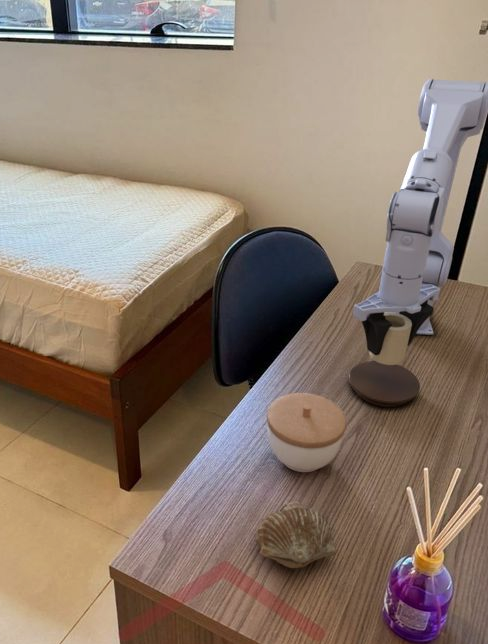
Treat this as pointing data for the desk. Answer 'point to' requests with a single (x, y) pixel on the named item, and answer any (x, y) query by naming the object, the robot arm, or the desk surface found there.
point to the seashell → (295, 536)
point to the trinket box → (305, 430)
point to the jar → (394, 340)
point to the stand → (383, 383)
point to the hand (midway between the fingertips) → (388, 347)
